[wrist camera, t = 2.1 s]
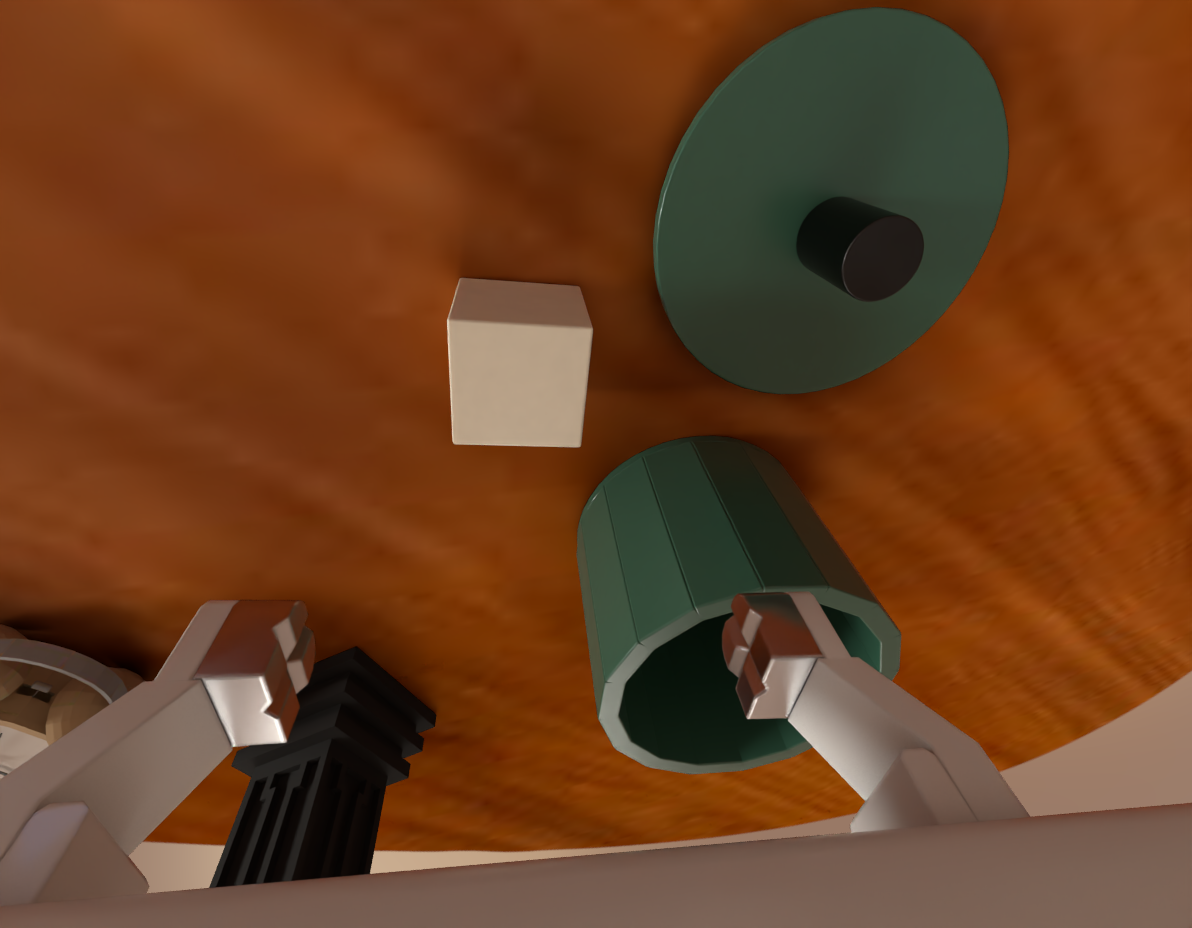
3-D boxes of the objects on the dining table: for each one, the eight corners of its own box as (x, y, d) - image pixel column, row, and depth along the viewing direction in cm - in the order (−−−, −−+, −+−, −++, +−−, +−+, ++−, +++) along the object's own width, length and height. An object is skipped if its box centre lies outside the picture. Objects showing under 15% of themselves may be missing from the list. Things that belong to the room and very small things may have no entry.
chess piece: (436, 714, 35) (367, 1260, 19) (330, 755, 36) (178, 1303, 20) (356, 646, 31) (175, 1282, 14) (238, 694, 32) (-55, 1337, 16)
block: (459, 276, 20) (446, 318, 17) (580, 285, 21) (593, 327, 17) (462, 387, 23) (452, 445, 19) (570, 391, 24) (580, 448, 20)
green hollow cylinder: (588, 431, 25) (622, 590, 17) (827, 438, 27) (955, 584, 19) (568, 608, 31) (586, 782, 23) (761, 604, 33) (837, 764, 25)
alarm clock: (-209, 773, 27) (-167, 673, 20) (-110, 677, 31) (-47, 566, 24) (54, 830, 32) (156, 767, 26) (111, 743, 36) (213, 667, 29)
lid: (685, -20, 16) (738, -52, 13) (1055, 41, 18) (1198, 29, 15) (627, 375, 23) (649, 432, 20) (899, 388, 25) (968, 442, 22)
